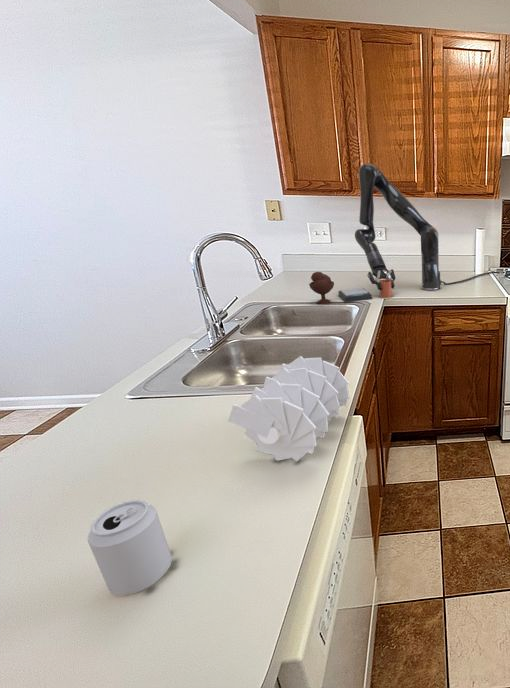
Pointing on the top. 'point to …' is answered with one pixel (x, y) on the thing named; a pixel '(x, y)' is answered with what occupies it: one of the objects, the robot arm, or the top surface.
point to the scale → (354, 294)
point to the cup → (386, 288)
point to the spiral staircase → (293, 408)
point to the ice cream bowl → (321, 285)
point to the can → (129, 547)
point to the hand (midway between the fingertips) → (387, 288)
